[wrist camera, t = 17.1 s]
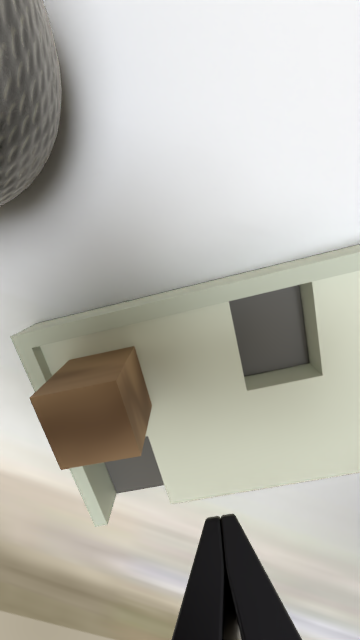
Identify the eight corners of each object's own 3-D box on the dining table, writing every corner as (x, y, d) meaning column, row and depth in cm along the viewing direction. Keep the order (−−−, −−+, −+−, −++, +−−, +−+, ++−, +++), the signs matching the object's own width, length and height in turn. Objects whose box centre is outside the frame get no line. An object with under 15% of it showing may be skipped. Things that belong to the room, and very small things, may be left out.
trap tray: (404, 441, 21) (437, 470, 18) (106, 493, 23) (95, 526, 20) (399, 234, 16) (441, 232, 14) (35, 323, 19) (10, 336, 16)
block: (152, 405, 18) (140, 455, 14) (90, 417, 18) (60, 469, 14) (134, 346, 17) (116, 380, 12) (69, 359, 17) (29, 397, 13)
